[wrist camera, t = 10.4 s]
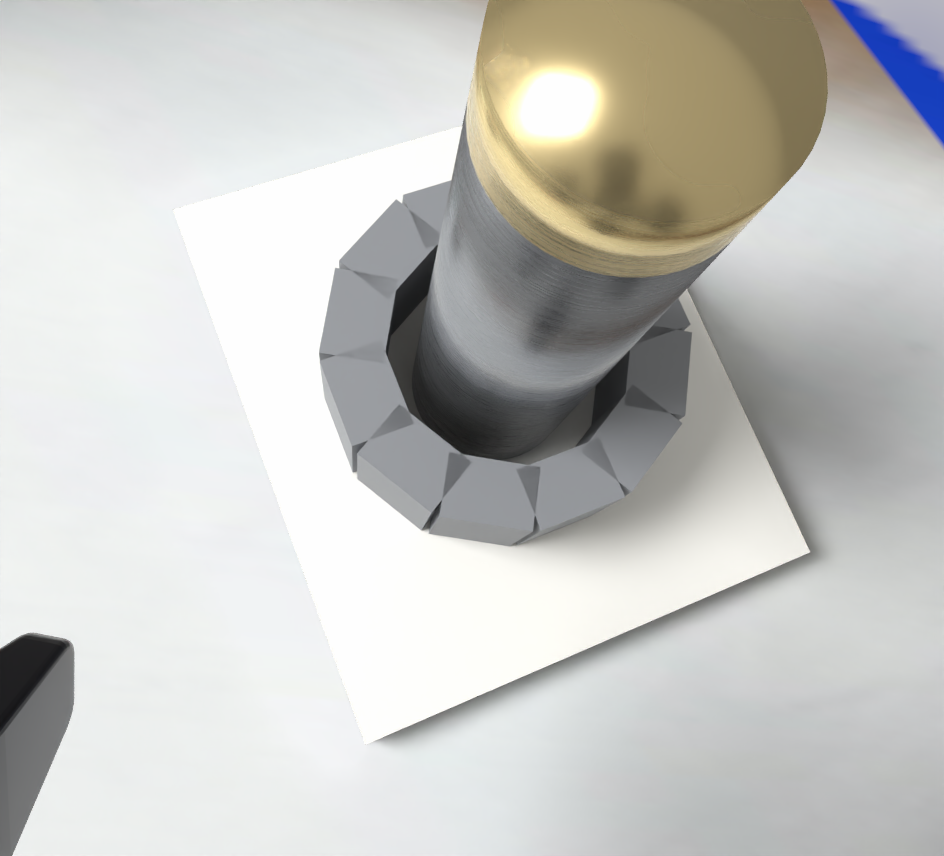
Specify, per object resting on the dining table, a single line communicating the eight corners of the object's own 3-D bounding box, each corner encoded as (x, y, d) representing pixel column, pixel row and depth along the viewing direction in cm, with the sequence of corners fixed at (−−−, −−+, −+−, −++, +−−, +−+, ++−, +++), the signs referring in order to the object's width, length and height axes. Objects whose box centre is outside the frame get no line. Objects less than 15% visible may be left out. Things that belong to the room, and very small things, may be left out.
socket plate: (791, 556, 23) (877, 538, 20) (364, 739, 21) (366, 762, 17) (584, 108, 26) (623, 14, 22) (180, 227, 23) (145, 145, 20)
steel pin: (598, 401, 23) (895, 107, 10) (475, 491, 22) (635, 290, 9) (504, 281, 23) (678, -144, 11) (380, 364, 22) (408, 6, 10)
